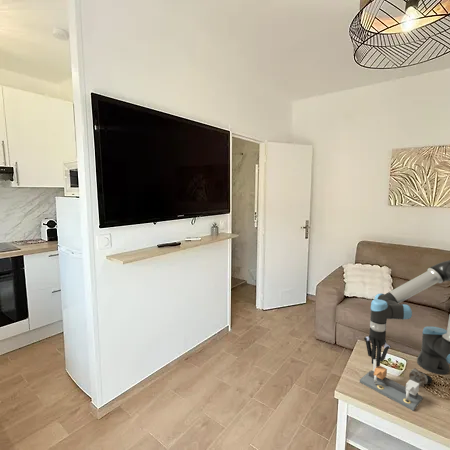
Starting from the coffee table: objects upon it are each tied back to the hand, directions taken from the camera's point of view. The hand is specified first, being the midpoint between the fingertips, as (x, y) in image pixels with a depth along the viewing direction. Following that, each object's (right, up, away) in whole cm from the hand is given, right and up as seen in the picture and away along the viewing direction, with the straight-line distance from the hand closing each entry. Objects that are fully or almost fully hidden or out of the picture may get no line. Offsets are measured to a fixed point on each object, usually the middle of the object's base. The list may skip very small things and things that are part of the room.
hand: (375, 370), depth 147 cm
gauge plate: (+3, -6, -8) cm, 10 cm away
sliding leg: (0, -3, -3) cm, 5 cm away
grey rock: (+23, -6, 0) cm, 24 cm away
